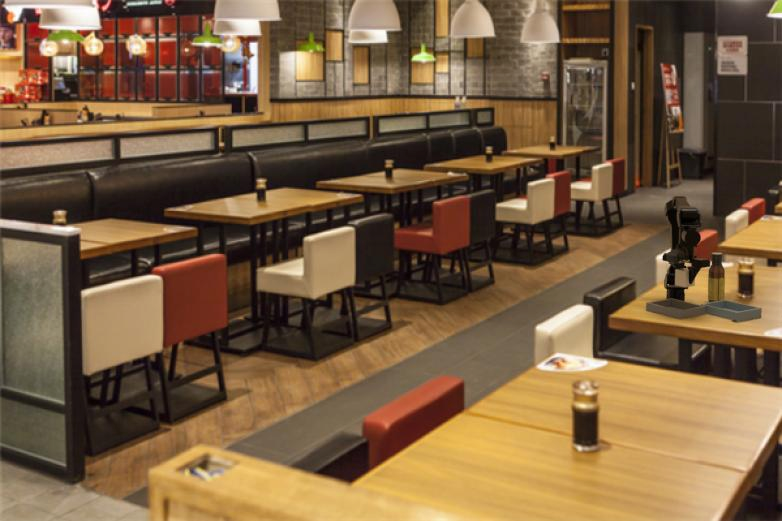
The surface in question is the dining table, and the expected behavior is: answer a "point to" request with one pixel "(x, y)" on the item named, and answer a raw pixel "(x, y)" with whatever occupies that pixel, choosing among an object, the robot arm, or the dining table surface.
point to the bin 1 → (675, 308)
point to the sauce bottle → (716, 279)
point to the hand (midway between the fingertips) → (684, 282)
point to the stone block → (683, 278)
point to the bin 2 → (732, 310)
